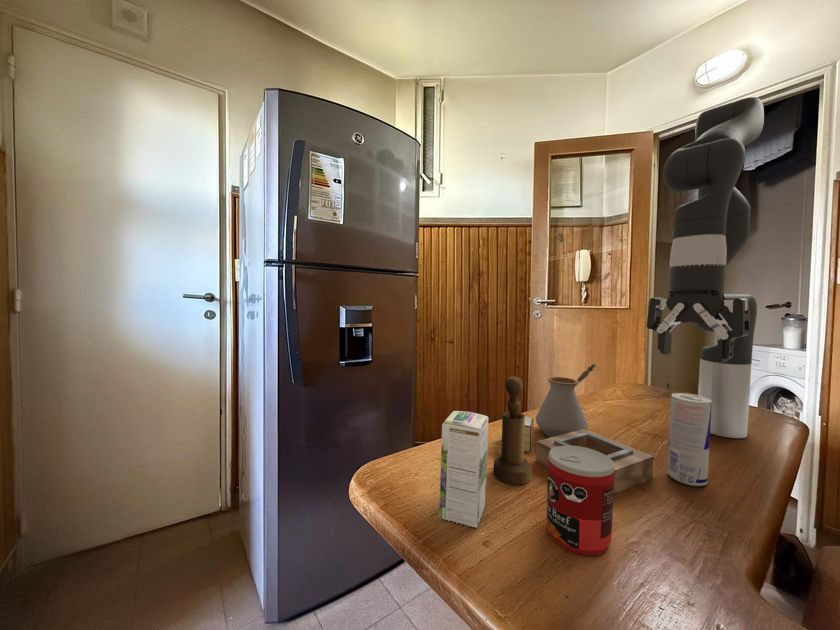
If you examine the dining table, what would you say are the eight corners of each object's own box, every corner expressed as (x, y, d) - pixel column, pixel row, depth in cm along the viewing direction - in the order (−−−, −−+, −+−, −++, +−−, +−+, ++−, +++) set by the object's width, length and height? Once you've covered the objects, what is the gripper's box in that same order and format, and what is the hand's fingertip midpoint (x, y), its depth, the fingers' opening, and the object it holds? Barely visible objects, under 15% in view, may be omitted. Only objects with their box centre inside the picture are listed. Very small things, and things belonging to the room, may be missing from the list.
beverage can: (714, 490, 58) (720, 402, 57) (677, 486, 59) (681, 400, 58) (695, 473, 63) (699, 393, 62) (661, 469, 64) (665, 391, 63)
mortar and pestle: (531, 469, 64) (534, 374, 63) (530, 488, 58) (533, 383, 57) (495, 463, 66) (497, 371, 65) (491, 481, 60) (493, 379, 59)
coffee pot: (570, 448, 73) (573, 379, 72) (525, 431, 82) (526, 369, 81) (616, 426, 85) (619, 367, 85) (572, 413, 95) (574, 360, 94)
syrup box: (449, 498, 55) (451, 409, 54) (486, 506, 52) (488, 414, 52) (438, 519, 49) (440, 421, 48) (479, 530, 47) (481, 427, 46)
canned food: (536, 519, 50) (539, 445, 49) (589, 516, 50) (592, 443, 50) (563, 559, 42) (566, 473, 41) (624, 556, 43) (628, 470, 42)
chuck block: (583, 447, 74) (584, 426, 73) (652, 478, 61) (653, 453, 61) (536, 460, 67) (536, 438, 67) (602, 498, 55) (603, 470, 55)
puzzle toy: (506, 438, 78) (507, 413, 78) (533, 442, 76) (533, 417, 76) (502, 448, 73) (503, 422, 72) (530, 453, 71) (531, 426, 70)
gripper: (762, 262, 54) (755, 363, 55) (664, 268, 67) (660, 350, 68) (739, 259, 51) (733, 367, 52) (641, 266, 63) (637, 353, 64)
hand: (691, 357), depth 60 cm, fingers open, 8 cm apart
